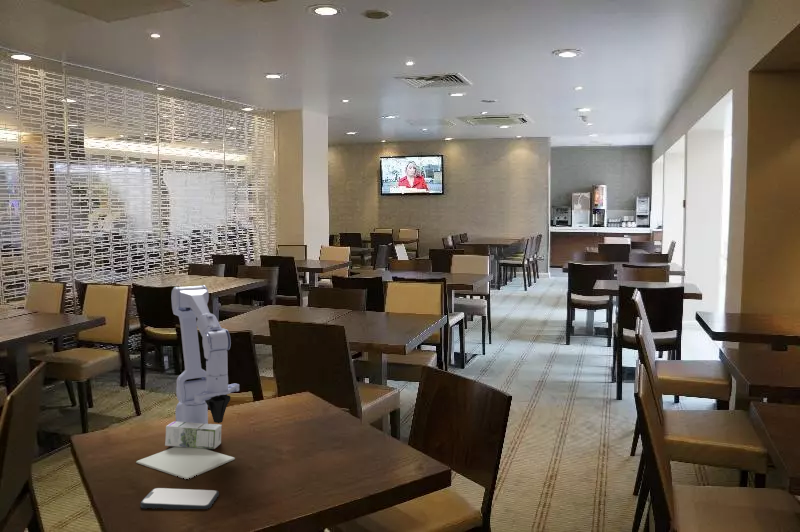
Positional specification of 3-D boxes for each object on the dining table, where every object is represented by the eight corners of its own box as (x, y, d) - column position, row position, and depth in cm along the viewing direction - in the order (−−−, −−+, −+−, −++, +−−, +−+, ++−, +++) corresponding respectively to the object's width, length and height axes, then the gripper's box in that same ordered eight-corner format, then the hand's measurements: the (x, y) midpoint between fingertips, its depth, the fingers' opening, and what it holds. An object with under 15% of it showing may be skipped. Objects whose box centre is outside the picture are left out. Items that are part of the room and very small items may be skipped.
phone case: (220, 496, 159) (154, 493, 160) (220, 489, 159) (154, 486, 159) (208, 513, 150) (138, 510, 151) (208, 506, 150) (138, 503, 151)
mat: (136, 462, 177) (136, 461, 177) (184, 444, 191) (184, 443, 191) (187, 479, 167) (187, 477, 167) (234, 459, 180) (234, 457, 180)
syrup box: (222, 424, 192) (173, 420, 193) (215, 429, 186) (164, 426, 187) (221, 443, 192) (172, 440, 193) (214, 449, 186) (163, 446, 187)
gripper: (206, 381, 176) (207, 432, 177) (246, 370, 188) (247, 417, 189) (188, 378, 179) (189, 427, 181) (228, 367, 192) (229, 413, 193)
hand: (218, 422), depth 185 cm, fingers closed
